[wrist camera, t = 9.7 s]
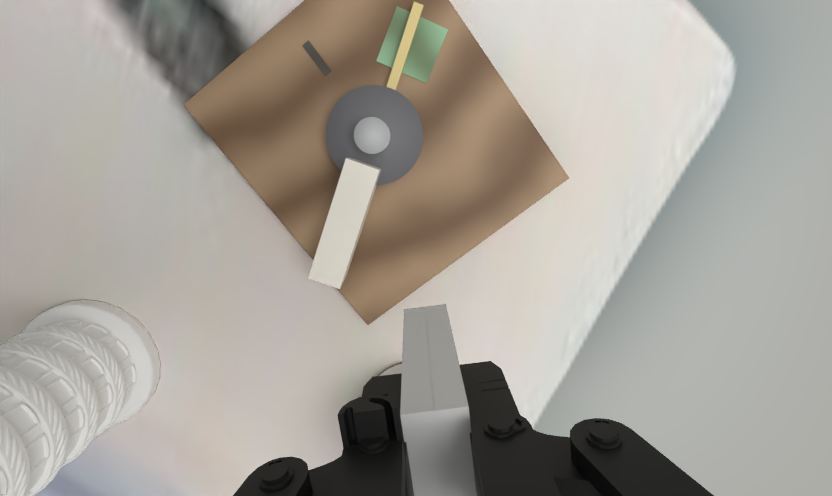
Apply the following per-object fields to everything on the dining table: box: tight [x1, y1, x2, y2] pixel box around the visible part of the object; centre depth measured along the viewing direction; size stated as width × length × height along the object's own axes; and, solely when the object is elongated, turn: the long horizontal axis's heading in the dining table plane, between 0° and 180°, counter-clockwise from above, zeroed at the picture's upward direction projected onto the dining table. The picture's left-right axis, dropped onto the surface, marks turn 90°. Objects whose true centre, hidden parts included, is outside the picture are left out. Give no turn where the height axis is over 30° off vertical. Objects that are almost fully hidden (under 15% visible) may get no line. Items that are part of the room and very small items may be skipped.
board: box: [184, 0, 569, 325], centre depth 36 cm, size 22×20×2 cm
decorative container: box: [0, 299, 161, 496], centre depth 32 cm, size 12×12×18 cm
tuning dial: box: [308, 2, 424, 289], centre depth 32 cm, size 20×7×4 cm, turn 160°
